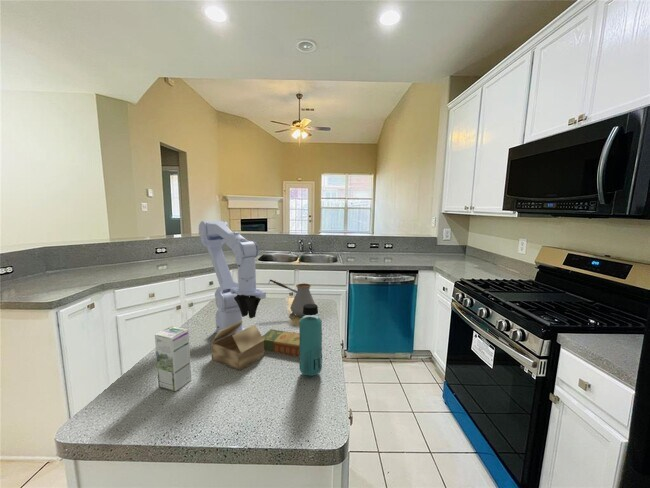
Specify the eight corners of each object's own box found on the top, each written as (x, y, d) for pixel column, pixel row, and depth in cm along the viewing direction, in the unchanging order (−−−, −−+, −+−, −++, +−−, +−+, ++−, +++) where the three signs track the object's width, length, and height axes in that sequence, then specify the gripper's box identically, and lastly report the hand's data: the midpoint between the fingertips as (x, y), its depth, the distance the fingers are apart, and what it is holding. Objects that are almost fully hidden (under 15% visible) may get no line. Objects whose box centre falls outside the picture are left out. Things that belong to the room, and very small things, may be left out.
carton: (303, 358, 89) (303, 345, 88) (258, 350, 94) (257, 338, 93) (312, 346, 97) (312, 334, 96) (270, 339, 102) (270, 328, 101)
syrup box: (192, 379, 77) (189, 328, 75) (174, 392, 71) (171, 337, 70) (176, 375, 79) (173, 325, 77) (157, 387, 73) (153, 333, 71)
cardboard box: (211, 359, 87) (211, 343, 87) (237, 346, 96) (236, 331, 95) (240, 370, 81) (239, 354, 81) (264, 355, 90) (263, 340, 89)
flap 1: (212, 342, 87) (211, 341, 87) (235, 332, 95) (234, 330, 95) (220, 331, 85) (219, 330, 85) (242, 321, 92) (241, 320, 93)
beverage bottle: (313, 384, 75) (314, 311, 73) (293, 376, 79) (293, 306, 76) (326, 372, 81) (327, 304, 79) (307, 365, 84) (307, 299, 82)
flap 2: (231, 335, 82) (232, 335, 82) (254, 325, 90) (255, 324, 90) (241, 353, 81) (242, 352, 81) (263, 340, 89) (264, 340, 88)
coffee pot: (317, 309, 131) (318, 277, 130) (314, 319, 120) (314, 284, 118) (272, 307, 133) (272, 276, 132) (265, 316, 122) (264, 282, 120)
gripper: (222, 277, 96) (224, 316, 97) (254, 281, 89) (256, 324, 90) (238, 273, 102) (240, 310, 103) (269, 277, 95) (270, 317, 96)
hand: (248, 316), depth 97 cm, fingers open, 3 cm apart
